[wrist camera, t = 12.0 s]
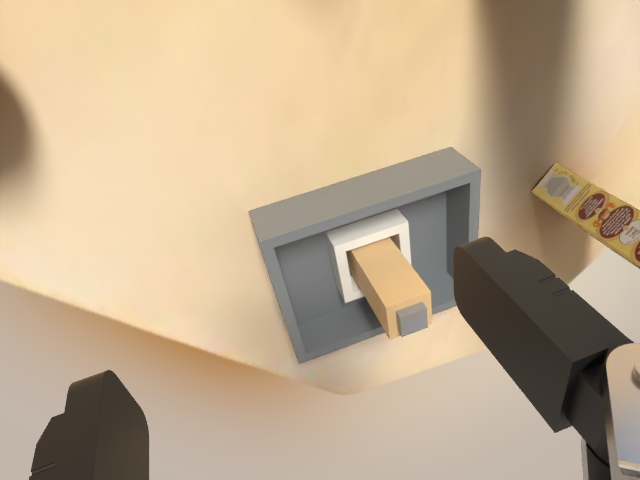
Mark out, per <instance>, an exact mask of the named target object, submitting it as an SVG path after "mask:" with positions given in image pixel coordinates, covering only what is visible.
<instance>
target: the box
mask: <svg viewBox="0 0 640 480" xmlns="http://www.w3.org/2000/svg"><path fill="white" fill-rule="evenodd" d="M480 179H481V169H480V168H479V167H477V166H476V165H475V164H473V163H472V162H471V161H469V160H468V159H467V158H465V157H464V156H463V155H461V154H460V153H459V152H457V151H456V150H455V149H453V148H452V147H449V148H446V149H443V150H440V151H436V152H433V153H430V154H427V155H424V156H421V157H418V158H414V159H411V160H408V161H405V162H402V163H399V164H396V165H392V166H389V167H386V168H383V169H380V170H377V171H374V172H370V173H367V174H364V175H361V176H358V177H355V178H352V179H348V180H345V181H342V182H339V183H336V184H333V185H330V186H326V187H323V188H320V189H317V190H314V191H311V192H308V193H304V194H301V195H298V196H295V197H292V198H289V199H286V200H282V201H279V202H276V203H273V204H270V205H267V206H264V207H260V208H257V209H254V210H251V211H248V212H249V215H250V218H251V221H252V224H253V227H254V230H255V233H256V236H257V239H258V242H259V245H260V248H261V251H262V254H263V257H264V260H265V263H266V266H267V269H268V272H269V275H270V278H271V281H272V284H273V287H274V290H275V293H276V296H277V299H278V302H279V305H280V309H281V312H282V315H283V318H284V321H285V324H286V327H287V330H288V333H289V336H290V339H291V342H292V345H293V347H294V350H295V353H296V356H297V359H298V362H299V364H300V363H303V362H306V361H309V360H311V359H314V358H317V357H319V356H322V355H325V354H328V353H330V352H333V351H336V350H338V349H341V348H344V347H346V346H349V345H352V344H355V343H357V342H360V341H363V340H365V339H368V338H371V337H374V336H376V335H379V334H382V333H384V332H385V330H384V329H383V327H382V325H381V323H380V322H379V320H378V318H377V316H376V315H375V313H374V311H373V309H372V308H371V306H370V304H369V303H368V301H367V299H366V297H365V296H364V294H363V292H362V290H361V289H360V287H359V285H358V283H357V282H356V280H355V278H354V276H353V275H352V273H351V271H350V268H349V262H348V257H347V251H349V250H352V249H355V248H358V247H361V246H364V245H367V244H369V243H372V242H375V241H378V240H381V239H384V238H387V237H390V238H391V240H392V241H393V242H394V244H395V245H396V246H397V248H398V249H399V250H400V252H401V253H402V254H403V255H404V257H405V258H406V259H407V261H408V262H409V263H410V265H411V266H412V267H413V269H414V270H415V271H416V273H417V274H418V275H419V276H420V278H421V279H422V280H423V282H424V283H425V284H426V286H427V287H428V288H429V290H430V291H431V308H432V315H433V314H436V313H438V312H441V311H444V310H447V309H449V308H452V307H455V306H457V304H456V301H455V298H454V262H453V254H454V249H455V248H456V247H457V246H460V245H463V244H466V243H469V242H471V241H474V240H477V239H478V225H479V202H480Z"/></svg>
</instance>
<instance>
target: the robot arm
mask: <svg viewBox="0 0 640 480" xmlns="http://www.w3.org/2000/svg"><path fill="white" fill-rule="evenodd" d="M453 262H454V298H455V301H456V304H457V307H458V309H459V311H460V313H461V314H462V316H463V317H464V319H465V320H466V321H467V323H468V324H469V325H470V326H471V328H472V329H473V330H474V331H475V333H476V334H477V335H478V336H479V338H480V339H481V340H482V342H483V343H484V344H485V345H486V347H487V348H488V349H489V350H490V351H491V353H492V354H493V355H494V357H495V358H496V359H497V360H498V362H499V363H500V364H501V365H502V366H503V368H504V369H505V370H506V372H507V373H508V374H509V376H510V377H511V378H512V379H513V380H514V382H515V383H516V384H517V386H518V387H519V388H520V389H521V391H522V392H523V393H524V394H525V396H526V397H527V398H528V399H529V401H530V402H531V403H532V404H533V406H534V407H535V408H536V410H537V411H538V412H539V413H540V415H541V416H542V417H543V418H544V420H545V421H546V422H547V423H548V425H549V426H550V427H551V428H552V430H553V431H554V432H555V433H556V432H558V431H561V430H563V429H565V428H568V427H570V426H573V427H574V428H575V429H576V430H577V431H578V432H579V434H580V435H581V436H582V440H581V452H582V466H583V480H640V343H634V342H633V341H631V340H630V339H628V338H627V337H626V336H625V335H624V334H623V333H621V332H620V331H619V330H618V329H617V328H616V327H615V326H613V325H612V324H611V323H610V322H609V321H608V320H607V319H605V318H604V317H603V316H602V315H600V313H598V312H597V311H596V310H595V309H594V308H593V307H592V306H590V305H589V304H588V303H587V302H586V301H585V300H584V299H582V298H581V297H580V296H579V295H578V294H576V293H575V292H574V291H573V290H572V291H571V290H570V289H569V286H567V285H566V284H565V283H564V282H563V281H562V280H561V279H559V278H556V277H555V274H554V273H553V272H551V271H550V270H549V269H548V268H547V267H546V266H545V265H543V264H542V263H541V262H540V261H539V260H537V259H535V258H533V257H531V256H528V255H526V254H524V253H522V252H519V251H517V250H513V251H510V252H507V253H506V252H505V251H504V250H503V249H502V248H501V247H500V246H499V245H498V244H497V243H495V242H494V241H493V240H492V239H491V238H489V237H483V238H480V239H477V240H474V241H471V242H469V243H466V244H463V245H460V246H457V247H456V248H455V249H454V254H453ZM31 472H32V476H30V477H29V480H149V431H148V425H147V421H146V418H145V415H144V413H143V411H142V409H141V407H140V406H139V405H138V404H137V402H136V401H135V399H134V398H133V397H132V396H131V394H130V393H129V392H128V390H127V389H126V388H125V386H124V385H123V384H122V382H121V381H120V380H119V378H118V377H117V376H116V374H115V373H113V372H112V371H111V370H107V371H105V372H102V373H99V374H96V375H93V376H91V377H88V378H85V379H82V380H80V381H77V382H74V383H72V384H71V385H70V387H69V390H68V394H67V400H66V406H65V412H64V413H63V414H60V415H57V416H55V417H52V418H51V420H50V422H49V423H48V425H47V427H46V429H45V430H44V432H43V434H42V436H41V438H40V439H39V441H38V443H37V445H36V449H35V454H34V459H33V463H32V469H31Z"/></svg>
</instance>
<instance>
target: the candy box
mask: <svg viewBox="0 0 640 480" xmlns="http://www.w3.org/2000/svg"><path fill="white" fill-rule="evenodd" d="M532 193H533V194H534V195H536V196H537V197H538V198H540V199H541V200H542V201H544V202H545V203H547V204H548V205H549V206H551V207H552V208H553V209H555V210H556V211H557V212H559V213H560V214H562V215H563V216H564V217H566V218H567V219H569V220H570V221H571V222H573V223H574V224H576V225H577V226H578V227H580V228H581V229H583V230H584V231H586V232H587V233H588V234H590V235H591V236H593V237H594V238H596V239H597V240H598V241H600V242H601V243H603V244H604V245H606V246H607V247H608V248H610V249H611V250H613V251H614V252H616V253H617V254H619V255H620V256H622V257H623V258H625V259H626V260H628V261H629V262H631V263H632V264H633V265H635V266H636V267H638V268H639V269H640V210H638V209H636V208H634V207H633V206H631V205H629V204H627V203H626V202H624V201H622V200H620V199H618V198H617V197H615V196H613V195H612V194H610V193H608V192H606V191H604V190H603V189H601V188H599V187H597V186H596V185H594V184H592V183H590V182H589V181H587V180H585V179H583V178H582V177H580V176H578V175H576V174H575V173H573V172H571V171H570V170H568V169H566V168H564V167H563V166H561V165H559V164H558V163H555V164H554V165H553V166H552V168H551V169H550V170H549V171H548V172H547V174H546V175H545V176H544V177H543V178H542V180H541V181H540V182H539V183H538V185H537V186H536V187H535V188H534V189H533V190H532Z"/></svg>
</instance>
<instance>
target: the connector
mask: <svg viewBox="0 0 640 480" xmlns="http://www.w3.org/2000/svg"><path fill="white" fill-rule="evenodd" d="M347 257H348V262H349V268H350V271H351V273H352V275H353V276H354V278H355V280H356V282H357V283H358V285H359V287H360V289H361V290H362V292H363V294H364V296H365V297H366V299H367V301H368V303H369V304H370V306H371V308H372V309H373V311H374V313H375V315H376V316H377V318H378V320H379V322H380V323H381V325H382V327H383V329H384V330H385V332H386V334H387V336H388V337H389V339H393V338H396V337H398V336H401V337H403V336H406V335H409V334H411V333H414V332H417V331H420V330H422V329H425V328H428V325H431V324H432V308H431V291H430V290H429V288H428V287H427V286H426V284H425V283H424V282H423V280H422V279H421V278H420V276H419V275H418V274H417V273H416V271H415V270H414V269H413V267H412V266H411V265H410V263H409V262H408V261H407V259H406V258H405V257H404V255H403V254H402V253H401V252H400V250H399V249H398V248H397V246H396V245H395V244H394V242H393V241H392V240H391V238H390V237H387V238H384V239H381V240H378V241H375V242H372V243H369V244H367V245H364V246H361V247H358V248H355V249H352V250H349V251H347Z"/></svg>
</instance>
